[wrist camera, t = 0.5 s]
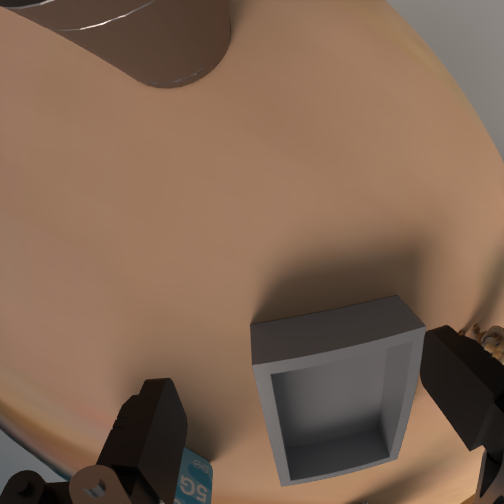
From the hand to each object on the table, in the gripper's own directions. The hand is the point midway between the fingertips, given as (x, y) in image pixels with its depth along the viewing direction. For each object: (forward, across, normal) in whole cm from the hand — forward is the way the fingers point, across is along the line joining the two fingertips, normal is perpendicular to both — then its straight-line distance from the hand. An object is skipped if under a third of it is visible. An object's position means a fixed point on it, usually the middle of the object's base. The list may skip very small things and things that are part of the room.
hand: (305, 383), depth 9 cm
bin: (+19, -5, +17) cm, 26 cm away
